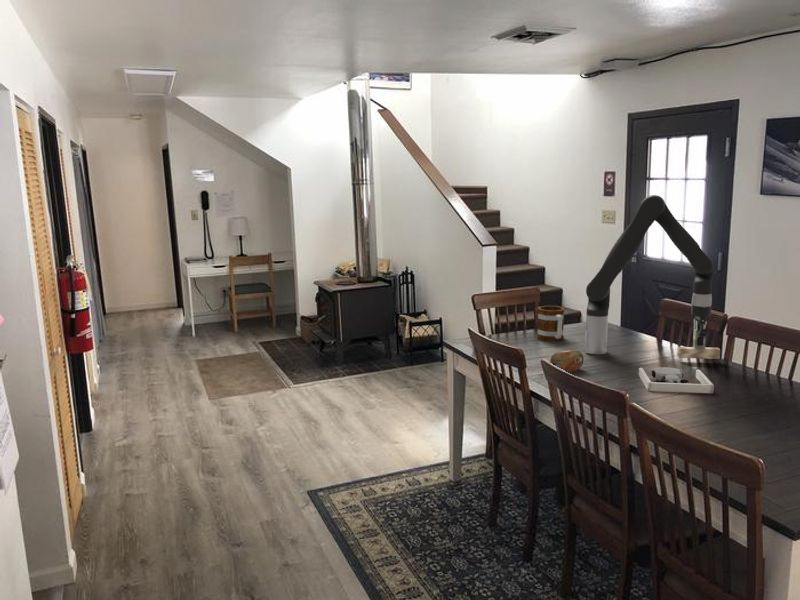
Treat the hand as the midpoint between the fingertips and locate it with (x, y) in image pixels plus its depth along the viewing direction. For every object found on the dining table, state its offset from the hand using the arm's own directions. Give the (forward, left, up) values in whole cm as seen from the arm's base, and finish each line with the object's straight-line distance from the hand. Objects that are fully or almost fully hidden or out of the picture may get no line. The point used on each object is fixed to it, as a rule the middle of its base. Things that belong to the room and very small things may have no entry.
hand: (698, 344), depth 267 cm
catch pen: (-16, -30, -8) cm, 35 cm away
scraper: (0, 0, -6) cm, 6 cm away
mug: (-58, +33, -8) cm, 67 cm away
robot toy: (-18, -30, -8) cm, 36 cm away
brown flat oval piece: (-55, -18, -8) cm, 58 cm away
